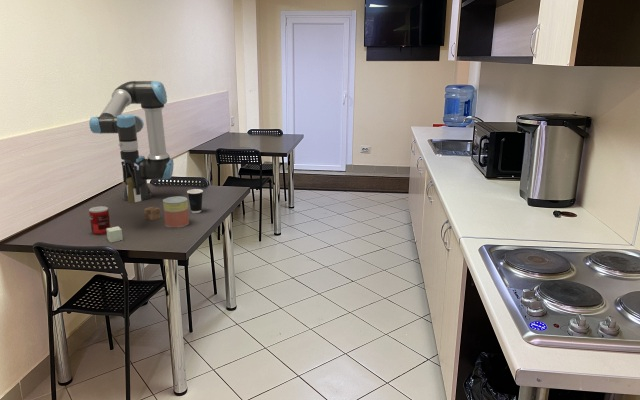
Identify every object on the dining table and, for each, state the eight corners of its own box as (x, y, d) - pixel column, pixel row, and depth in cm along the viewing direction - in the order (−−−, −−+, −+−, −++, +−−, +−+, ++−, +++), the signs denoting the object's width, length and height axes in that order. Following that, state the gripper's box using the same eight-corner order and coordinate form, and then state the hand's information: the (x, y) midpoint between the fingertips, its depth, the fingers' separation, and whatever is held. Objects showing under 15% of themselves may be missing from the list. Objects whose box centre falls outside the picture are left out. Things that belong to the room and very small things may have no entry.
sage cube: (107, 239, 207) (106, 228, 206) (119, 237, 210) (118, 226, 209) (110, 242, 203) (109, 231, 202) (122, 240, 206) (121, 229, 205)
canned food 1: (96, 228, 220) (93, 206, 216) (113, 229, 219) (111, 206, 216) (88, 234, 212) (85, 211, 209) (106, 234, 212) (103, 211, 209)
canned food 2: (193, 221, 232) (191, 197, 228) (182, 228, 221) (180, 203, 218) (172, 219, 234) (170, 195, 231) (160, 226, 223) (157, 202, 220)
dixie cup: (189, 214, 241) (187, 193, 238) (187, 210, 248) (186, 189, 245) (205, 213, 244) (203, 192, 241) (203, 208, 251) (202, 188, 248)
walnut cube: (145, 218, 234) (144, 209, 233) (153, 216, 239) (152, 206, 237) (152, 220, 232) (151, 210, 231) (160, 217, 236) (159, 208, 235)
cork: (124, 201, 217) (122, 178, 213) (134, 198, 222) (131, 175, 219) (135, 203, 215) (132, 179, 211) (144, 199, 220) (142, 176, 217)
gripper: (111, 148, 215) (117, 197, 222) (131, 154, 203) (136, 206, 209) (127, 146, 220) (132, 194, 227) (147, 151, 208) (152, 202, 215)
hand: (134, 199), depth 218 cm, fingers closed on cork, 6 cm apart
